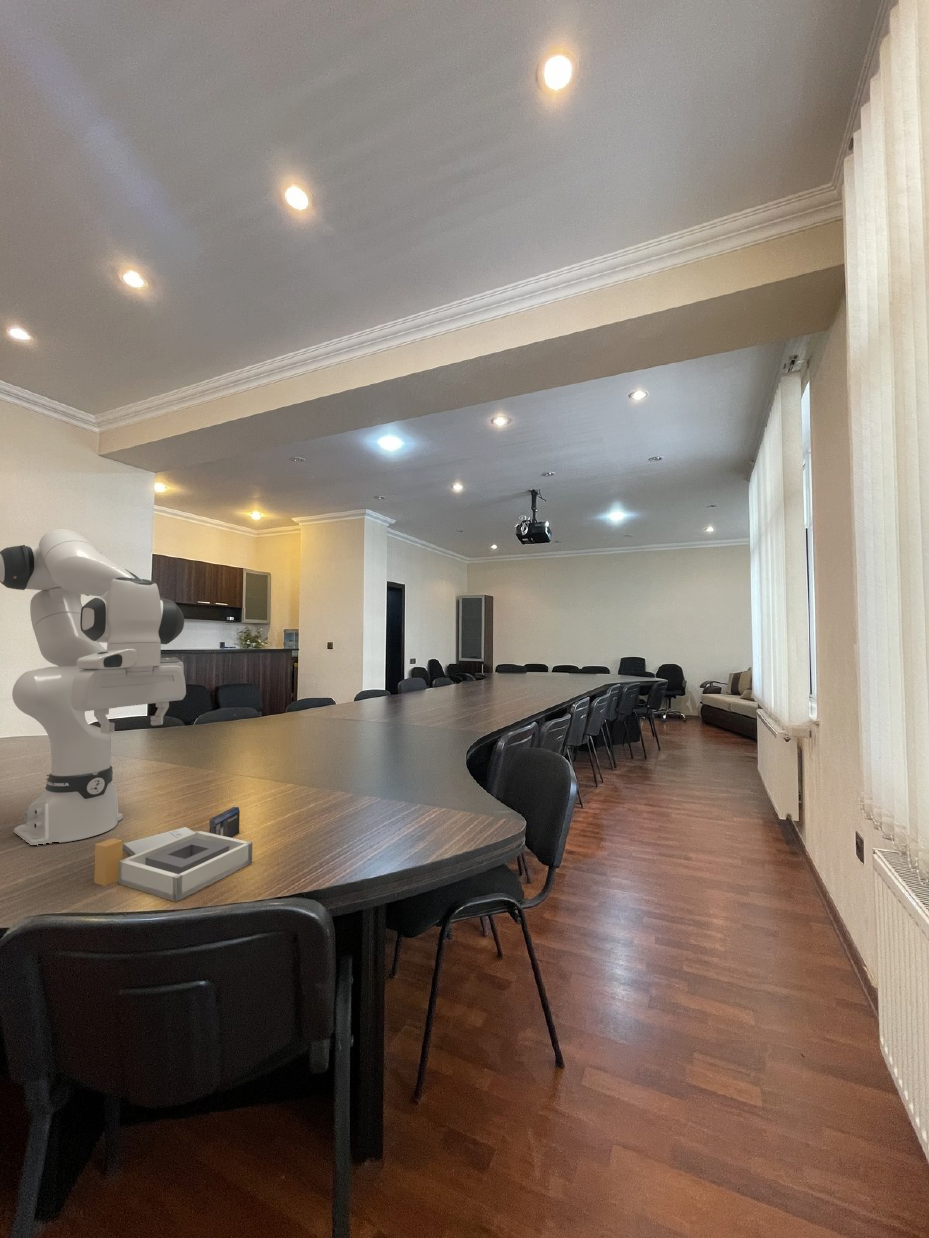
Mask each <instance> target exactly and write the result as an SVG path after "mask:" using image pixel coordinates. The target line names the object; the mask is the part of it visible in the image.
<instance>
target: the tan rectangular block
mask: <svg viewBox="0 0 929 1238" xmlns="http://www.w3.org/2000/svg"><path fill="white" fill-rule="evenodd" d="M123 844H124V843H123V840H121V839H117V838H114V837H112V838H108V839H106V840H104V841H101V842H97V843H95V847H94V850H95V851H94V884H97V885H100V886H103V887H106V886H107V885H110V884H112V883H115V882H118V867H119V861H121V860H123Z"/></svg>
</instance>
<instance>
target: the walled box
mask: <svg viewBox="0 0 929 1238" xmlns="http://www.w3.org/2000/svg"><path fill="white" fill-rule="evenodd" d="M250 864H251V865H252V864H253V842H252V841H248V840H244V839H238V838H235V837H232V838H230V837H225V836H221V835H216V834H212V833H209V832H207V831H201V830H195V831H194V832H192V833H190V834H187V835H185V836H182V837H180V838H177V839H174V840H172V841H169V842H167V843H164V844H162V845H159V846H157V847H154V848H152V849H149V850H146V851H144V852H141V853H139V854H136V855H134V856H131V855H130V856H129V857H126V858H124V859H123V858H122V860H121V861H119V867H118V880H117V884H118V885H121V886H124V887H126V888H127V887H128V888H131V889H134V890H137V891H139V892H140V891H141V892H143V893H147V894H149V895H153V896H156V897H159V898H163V899H166V900H169V901H171V902H175V903H177V902H179V901H181V900H183V899H185V898H187V897H188V896H191V895H193V894H195V893H197V892H198V891H200V890H202V889H204V888H207V887H208V886H210V885H213V884H214V883H216V882H217V881H220V880H222V879H224V878H226V877H227V876H229V875H232V874H233V873H236V872H238V871H239V870H241V869H243V868H245V867H247V866H249V865H250Z"/></svg>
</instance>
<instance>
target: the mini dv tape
mask: <svg viewBox="0 0 929 1238" xmlns="http://www.w3.org/2000/svg"><path fill="white" fill-rule="evenodd" d="M240 812H241V811H240V807H239V806H232V807H231V808H229V809H227V810H225V811H223V812H220V813H218V815H216V816H213V817H211V818H209V825H208V826H209V828H208V829H209V830H208V831H209V832H208V833H212V834H216V835H221V836H225V837H230V838H234V837H236V836H238V835H239V834H240ZM233 836H234V837H233Z"/></svg>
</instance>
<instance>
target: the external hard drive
mask: <svg viewBox="0 0 929 1238" xmlns="http://www.w3.org/2000/svg"><path fill="white" fill-rule="evenodd" d="M192 832H195V831H194V830H192V829H190V828H188V827H187V826H184V827H180V828H175V829H173V830H169V831H166V832H162V833H157V834H154V835H153V834H152V835H150V836H147V837H146V836H145V837H142V838H139V839H135V840H132V841H128V842H124V843H122V850H124V851H125V850H126V851H125V852H126V853H128V854H129V855H130V856H131V855H132V856H134V855H136V854H139V853H141V852H144V851H146V850H149V849H152V848H154V847H157V846H159V845H162V844H164V843H167V842H169V841H172V840H174V839H177V838H180V837H182V836H185V835H187V834H190V833H192Z"/></svg>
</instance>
